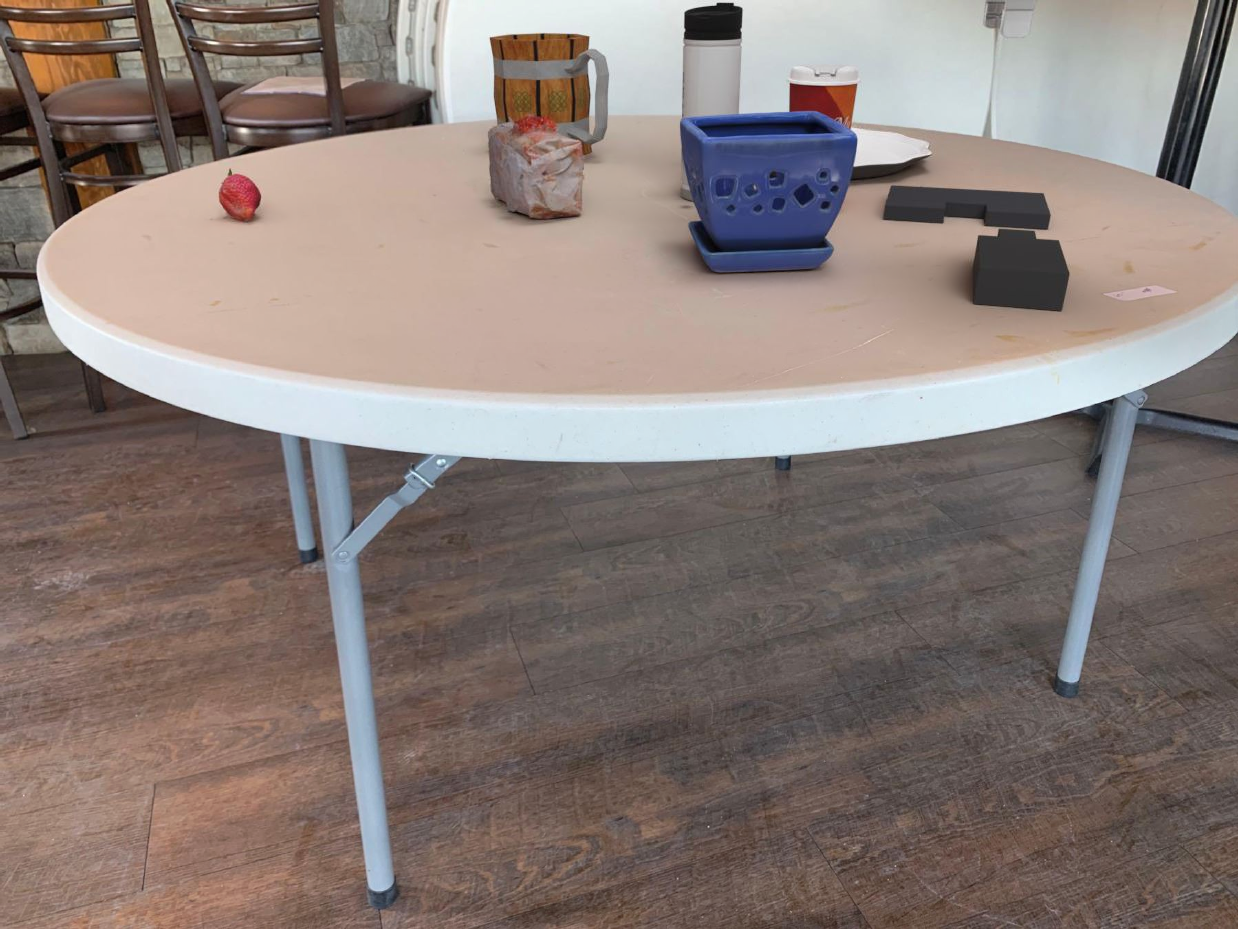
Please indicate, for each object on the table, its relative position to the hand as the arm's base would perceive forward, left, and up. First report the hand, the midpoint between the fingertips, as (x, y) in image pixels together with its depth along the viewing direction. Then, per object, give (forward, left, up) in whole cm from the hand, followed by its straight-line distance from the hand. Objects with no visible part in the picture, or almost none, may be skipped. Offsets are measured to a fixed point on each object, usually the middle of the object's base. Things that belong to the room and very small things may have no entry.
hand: (1003, 32), depth 71 cm
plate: (+19, -50, -20) cm, 57 cm away
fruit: (+74, -4, -20) cm, 77 cm away
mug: (+54, -47, -20) cm, 74 cm away
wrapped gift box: (+45, -16, -20) cm, 52 cm away
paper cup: (+16, -27, -20) cm, 37 cm away
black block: (-4, -2, -19) cm, 20 cm away
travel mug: (+28, -27, -20) cm, 44 cm away
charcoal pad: (0, -26, -19) cm, 33 cm away
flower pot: (+18, -3, -20) cm, 27 cm away
